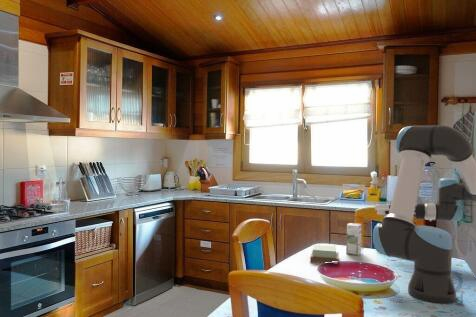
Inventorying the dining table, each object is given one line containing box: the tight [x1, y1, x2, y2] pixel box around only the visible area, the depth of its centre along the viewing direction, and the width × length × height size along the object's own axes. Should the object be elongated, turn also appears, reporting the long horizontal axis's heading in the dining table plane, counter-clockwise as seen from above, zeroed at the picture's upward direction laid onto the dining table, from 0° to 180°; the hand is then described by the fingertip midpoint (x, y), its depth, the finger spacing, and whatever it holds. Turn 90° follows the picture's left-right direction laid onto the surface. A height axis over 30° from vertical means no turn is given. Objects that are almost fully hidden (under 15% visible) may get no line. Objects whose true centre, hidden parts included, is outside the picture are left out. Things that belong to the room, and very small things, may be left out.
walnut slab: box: [310, 250, 340, 264], centre depth 183 cm, size 12×12×3 cm
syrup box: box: [345, 222, 362, 256], centre depth 195 cm, size 6×6×14 cm
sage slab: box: [312, 244, 337, 258], centre depth 183 cm, size 10×10×3 cm
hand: (376, 209), depth 192 cm, fingers open, 13 cm apart
